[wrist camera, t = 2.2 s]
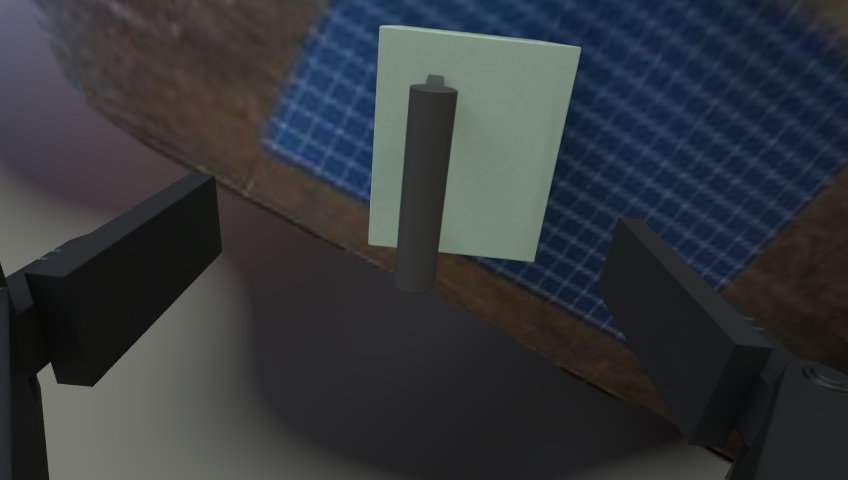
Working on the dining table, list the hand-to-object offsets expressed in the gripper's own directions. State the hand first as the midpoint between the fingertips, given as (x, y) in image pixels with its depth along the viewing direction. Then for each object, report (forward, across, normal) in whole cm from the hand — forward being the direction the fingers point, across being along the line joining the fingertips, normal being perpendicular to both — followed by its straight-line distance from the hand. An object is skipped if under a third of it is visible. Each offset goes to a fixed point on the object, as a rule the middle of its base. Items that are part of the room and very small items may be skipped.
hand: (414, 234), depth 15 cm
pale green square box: (+13, -7, 0) cm, 15 cm away
